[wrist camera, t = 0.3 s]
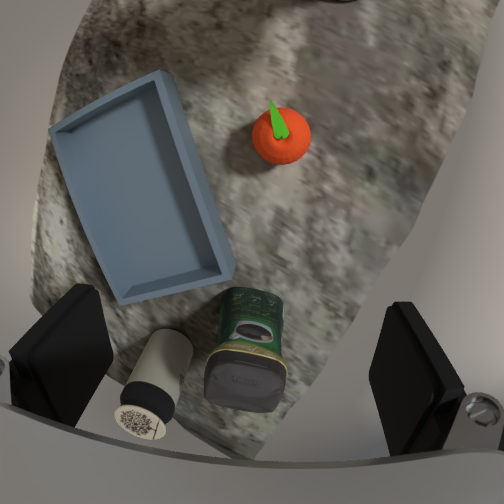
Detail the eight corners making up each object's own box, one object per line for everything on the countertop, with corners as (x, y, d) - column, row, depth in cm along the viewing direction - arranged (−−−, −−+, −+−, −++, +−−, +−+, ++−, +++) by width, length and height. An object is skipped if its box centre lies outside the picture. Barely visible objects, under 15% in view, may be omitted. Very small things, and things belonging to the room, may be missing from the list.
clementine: (244, 110, 39) (237, 107, 32) (296, 95, 37) (300, 89, 31) (263, 167, 41) (261, 176, 35) (314, 153, 40) (322, 159, 34)
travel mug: (144, 349, 55) (107, 423, 38) (158, 319, 52) (118, 396, 35) (183, 369, 56) (157, 447, 39) (200, 341, 53) (175, 424, 36)
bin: (67, 126, 40) (48, 129, 36) (171, 74, 37) (159, 69, 33) (131, 289, 50) (119, 305, 45) (236, 263, 47) (232, 279, 42)
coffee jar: (217, 322, 51) (193, 410, 34) (226, 279, 48) (202, 364, 31) (276, 335, 51) (275, 426, 34) (290, 294, 48) (295, 383, 31)
